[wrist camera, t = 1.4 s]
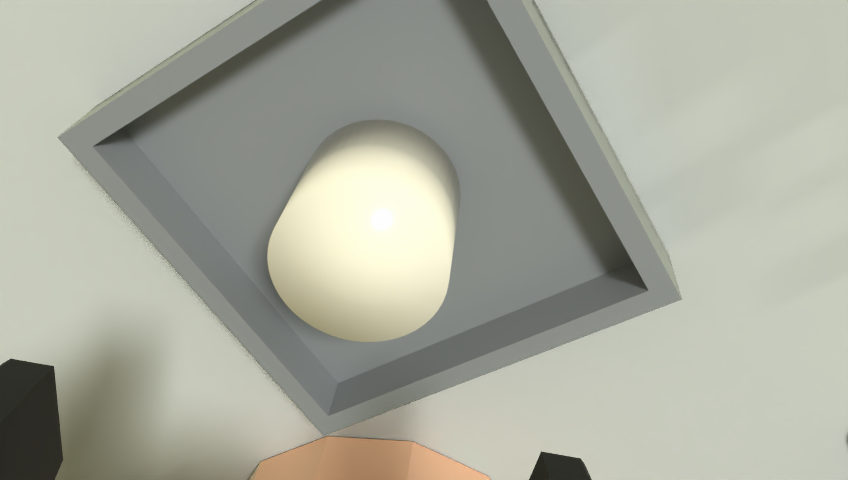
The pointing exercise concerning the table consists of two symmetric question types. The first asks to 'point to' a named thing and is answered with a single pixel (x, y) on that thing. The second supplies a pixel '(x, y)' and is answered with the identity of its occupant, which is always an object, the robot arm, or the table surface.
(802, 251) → the table surface
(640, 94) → the table surface
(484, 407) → the table surface
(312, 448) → the bowl
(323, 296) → the cream round lump
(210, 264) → the tray
